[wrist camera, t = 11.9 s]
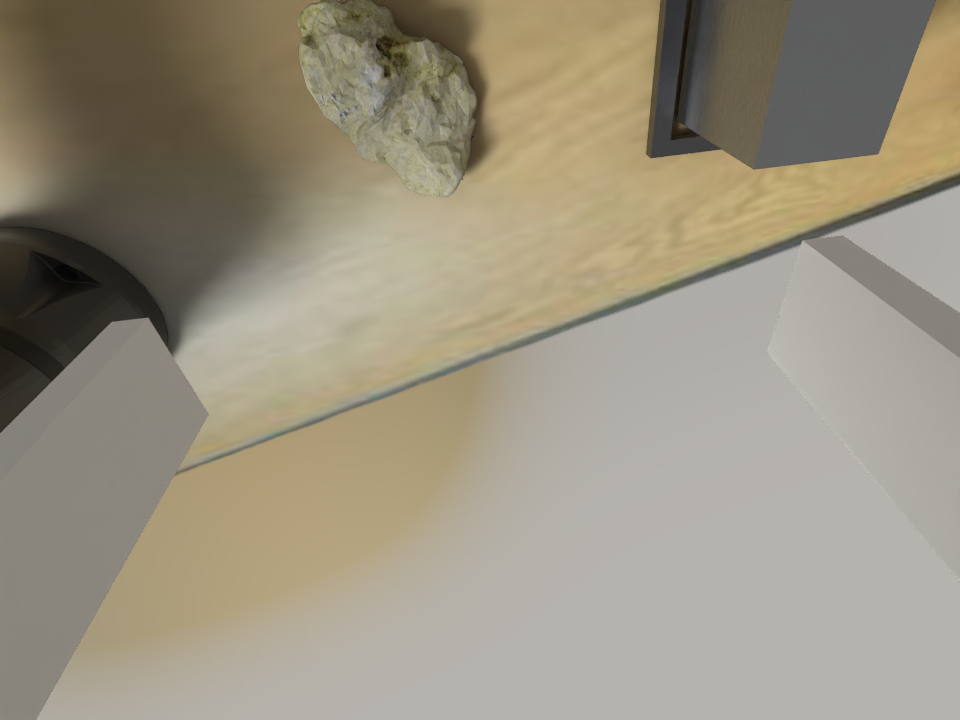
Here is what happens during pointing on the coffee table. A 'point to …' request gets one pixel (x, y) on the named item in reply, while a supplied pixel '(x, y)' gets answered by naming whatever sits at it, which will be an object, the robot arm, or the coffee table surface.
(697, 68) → the grey stepped block
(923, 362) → the robot arm
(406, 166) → the rock
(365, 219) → the coffee table surface
